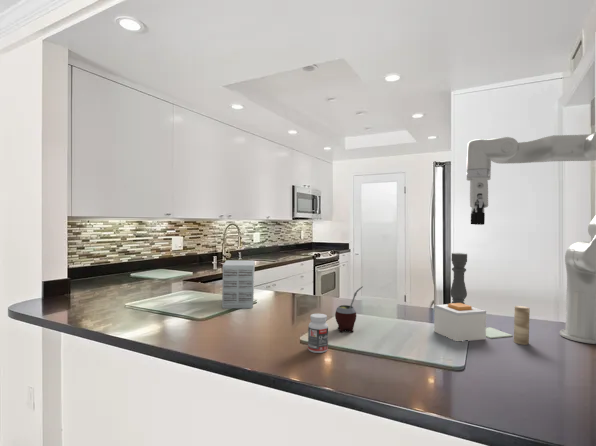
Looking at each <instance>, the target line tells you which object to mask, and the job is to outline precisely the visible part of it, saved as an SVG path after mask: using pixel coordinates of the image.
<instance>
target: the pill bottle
mask: <svg viewBox="0 0 596 446" xmlns="http://www.w3.org/2000/svg"><path fill="white" fill-rule="evenodd" d="M309 318H310V322H309V323H308V329H307V349H308V351H309V352H311V353H315V354H322V353H326V352H327V351H328V350H329V349H328V348H329V325H328V323H327V322H326V321H327V320H328V316H327V314H324V313H312V314H310V317H309Z"/></svg>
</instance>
